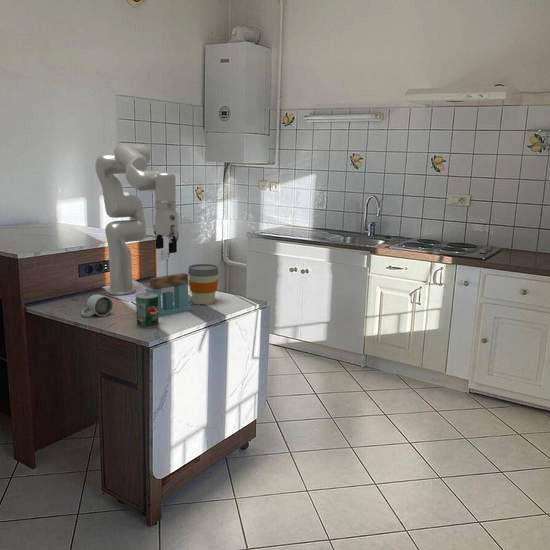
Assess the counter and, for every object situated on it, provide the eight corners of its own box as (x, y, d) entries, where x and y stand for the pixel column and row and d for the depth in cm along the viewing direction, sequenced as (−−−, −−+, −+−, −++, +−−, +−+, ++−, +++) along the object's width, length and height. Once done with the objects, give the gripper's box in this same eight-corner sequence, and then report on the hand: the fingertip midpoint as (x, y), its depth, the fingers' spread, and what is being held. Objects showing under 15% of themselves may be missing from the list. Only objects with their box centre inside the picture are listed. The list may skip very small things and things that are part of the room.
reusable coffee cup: (182, 300, 236) (182, 266, 233) (207, 296, 244) (207, 262, 241) (199, 307, 227) (198, 271, 224) (224, 302, 235) (224, 267, 232)
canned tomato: (157, 327, 200) (156, 298, 198) (135, 327, 200) (133, 298, 197) (160, 321, 208) (159, 292, 206) (138, 321, 208) (137, 292, 205)
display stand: (143, 314, 215) (142, 288, 213) (183, 307, 227) (183, 281, 225) (151, 318, 211) (150, 291, 209) (191, 310, 223) (191, 284, 220)
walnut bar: (184, 283, 223) (184, 273, 222) (188, 284, 221) (188, 274, 220) (150, 288, 213) (149, 278, 212) (154, 289, 211) (153, 279, 210)
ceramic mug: (103, 309, 221) (102, 290, 219) (113, 314, 215) (112, 295, 214) (77, 315, 214) (76, 295, 212) (87, 320, 208) (86, 300, 206)
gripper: (186, 207, 206) (186, 253, 210) (162, 202, 219) (163, 246, 223) (168, 208, 201) (169, 255, 205) (145, 203, 214) (146, 247, 218)
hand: (166, 250), depth 214 cm, fingers open, 9 cm apart
